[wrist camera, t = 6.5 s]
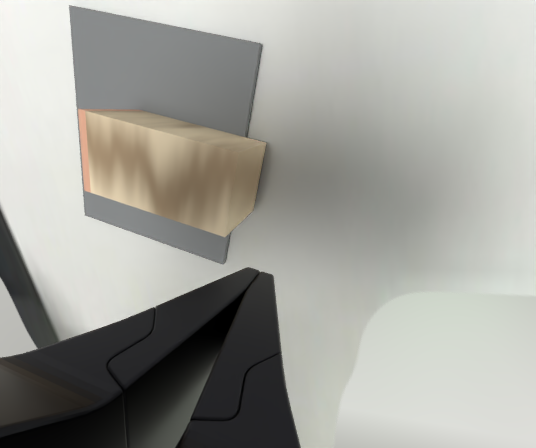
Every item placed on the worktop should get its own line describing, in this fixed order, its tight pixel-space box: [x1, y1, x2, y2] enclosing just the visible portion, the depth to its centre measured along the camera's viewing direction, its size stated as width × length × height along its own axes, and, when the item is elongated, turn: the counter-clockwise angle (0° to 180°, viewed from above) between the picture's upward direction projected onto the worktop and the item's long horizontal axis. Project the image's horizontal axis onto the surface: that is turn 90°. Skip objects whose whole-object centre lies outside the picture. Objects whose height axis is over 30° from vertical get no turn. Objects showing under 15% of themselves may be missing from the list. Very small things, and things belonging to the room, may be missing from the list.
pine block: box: [78, 109, 266, 237], centre depth 19 cm, size 5×5×10 cm
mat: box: [69, 5, 262, 264], centre depth 22 cm, size 16×14×1 cm
